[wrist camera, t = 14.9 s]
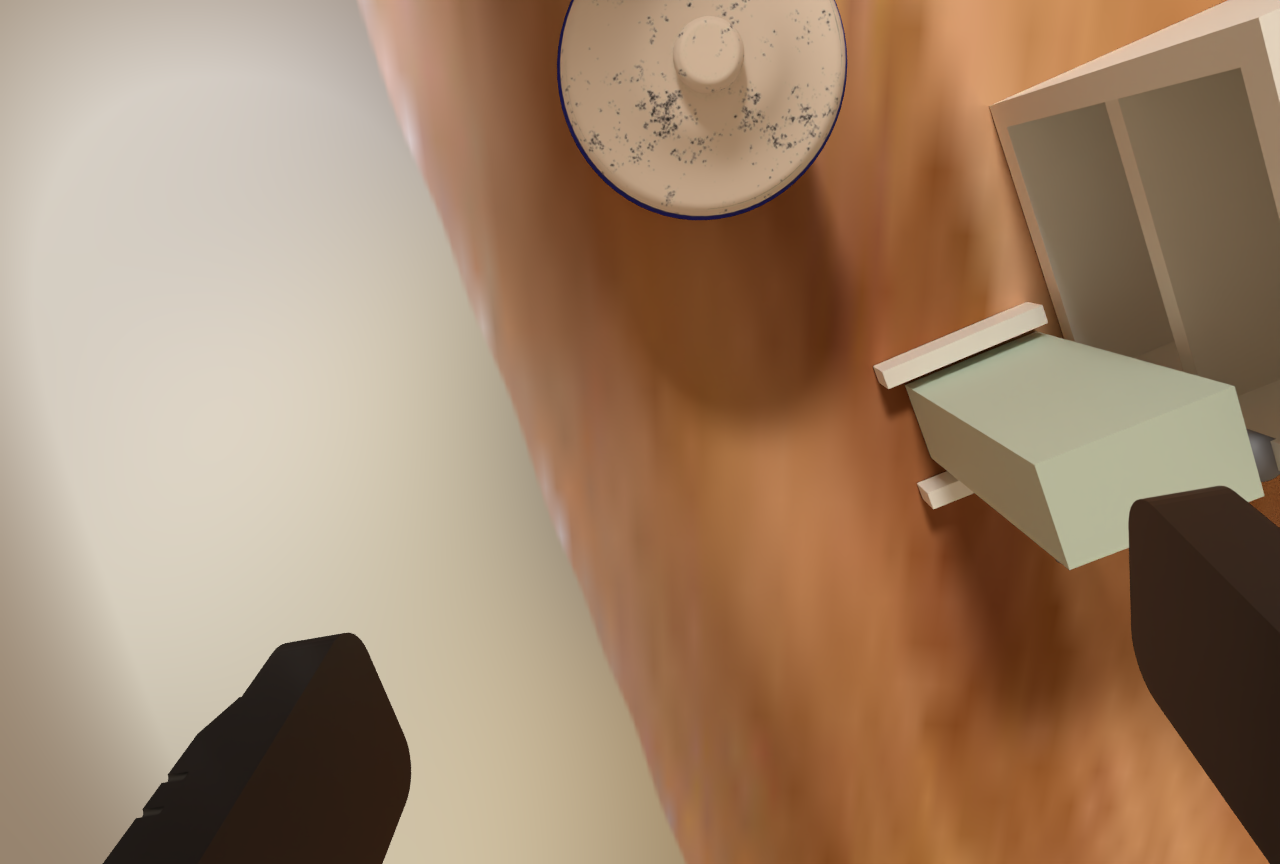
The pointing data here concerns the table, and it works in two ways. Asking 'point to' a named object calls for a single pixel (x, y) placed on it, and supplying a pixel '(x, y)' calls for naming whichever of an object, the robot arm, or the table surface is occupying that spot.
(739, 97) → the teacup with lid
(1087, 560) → the door
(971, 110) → the table surface
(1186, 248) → the cabinet
